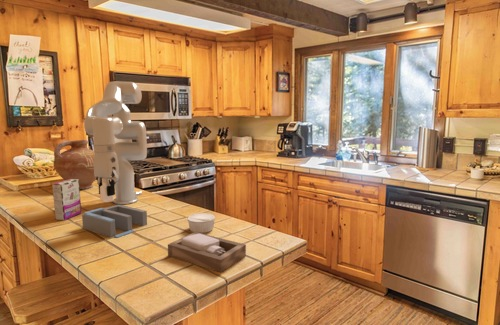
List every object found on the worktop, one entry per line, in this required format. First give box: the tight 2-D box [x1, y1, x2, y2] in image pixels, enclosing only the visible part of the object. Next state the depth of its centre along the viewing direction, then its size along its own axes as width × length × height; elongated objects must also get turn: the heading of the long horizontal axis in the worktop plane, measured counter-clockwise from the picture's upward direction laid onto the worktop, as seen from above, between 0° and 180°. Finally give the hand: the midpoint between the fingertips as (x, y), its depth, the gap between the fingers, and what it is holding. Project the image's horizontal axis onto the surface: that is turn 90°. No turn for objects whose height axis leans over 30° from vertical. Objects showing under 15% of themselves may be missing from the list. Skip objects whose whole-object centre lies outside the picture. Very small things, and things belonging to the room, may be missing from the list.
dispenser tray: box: [167, 232, 247, 273], centre depth 112 cm, size 14×22×4 cm, turn 59°
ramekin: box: [187, 212, 216, 234], centre depth 137 cm, size 11×11×5 cm
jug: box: [53, 139, 97, 190], centre depth 206 cm, size 28×28×30 cm
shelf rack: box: [81, 204, 148, 239], centre depth 139 cm, size 18×20×7 cm
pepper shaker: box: [99, 178, 115, 203], centre depth 133 cm, size 4×4×10 cm
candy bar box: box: [51, 179, 83, 221], centre depth 151 cm, size 11×5×16 cm, turn 168°
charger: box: [181, 233, 226, 256], centre depth 112 cm, size 5×9×15 cm
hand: (107, 194), depth 134 cm, fingers closed on pepper shaker, 4 cm apart
